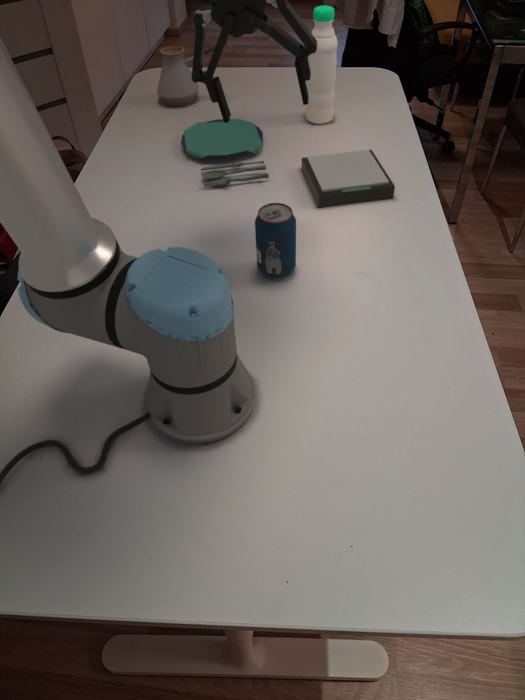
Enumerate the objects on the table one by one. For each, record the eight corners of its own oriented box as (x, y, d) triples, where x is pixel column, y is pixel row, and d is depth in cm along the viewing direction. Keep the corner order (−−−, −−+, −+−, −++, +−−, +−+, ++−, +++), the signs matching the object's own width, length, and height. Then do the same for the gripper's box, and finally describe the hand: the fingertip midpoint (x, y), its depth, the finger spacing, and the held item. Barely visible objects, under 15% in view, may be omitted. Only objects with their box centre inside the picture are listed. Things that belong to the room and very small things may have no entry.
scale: (317, 207, 110) (318, 193, 108) (301, 169, 121) (301, 155, 119) (393, 198, 112) (395, 183, 109) (370, 161, 122) (371, 147, 120)
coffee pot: (155, 109, 146) (144, 48, 135) (163, 91, 154) (153, 33, 143) (232, 108, 144) (228, 47, 133) (237, 91, 152) (233, 32, 141)
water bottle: (300, 119, 138) (301, 8, 120) (319, 110, 141) (323, 0, 123) (319, 127, 135) (324, 14, 116) (339, 118, 138) (346, 7, 119)
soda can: (286, 254, 100) (285, 196, 91) (302, 275, 96) (303, 217, 87) (251, 264, 98) (247, 206, 90) (266, 286, 94) (263, 228, 85)
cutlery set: (256, 122, 138) (256, 113, 136) (278, 181, 118) (278, 171, 116) (179, 131, 136) (178, 122, 135) (187, 192, 116) (186, 182, 114)
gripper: (316, -73, 74) (341, 83, 89) (151, -22, 80) (200, 115, 95) (313, -60, 69) (340, 103, 84) (138, -6, 75) (192, 136, 90)
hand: (266, 110), depth 89 cm, fingers open, 13 cm apart
